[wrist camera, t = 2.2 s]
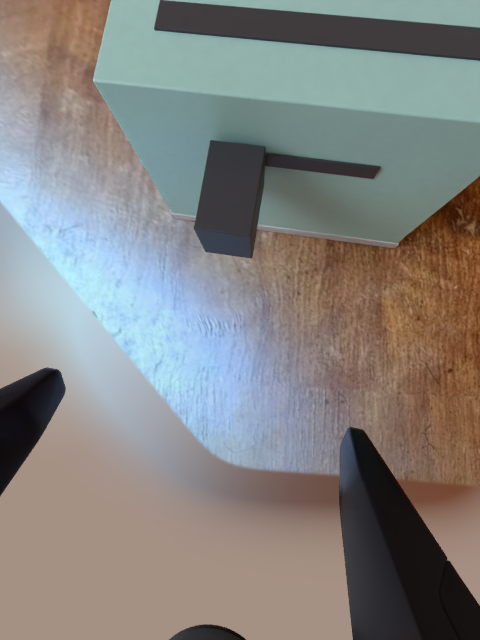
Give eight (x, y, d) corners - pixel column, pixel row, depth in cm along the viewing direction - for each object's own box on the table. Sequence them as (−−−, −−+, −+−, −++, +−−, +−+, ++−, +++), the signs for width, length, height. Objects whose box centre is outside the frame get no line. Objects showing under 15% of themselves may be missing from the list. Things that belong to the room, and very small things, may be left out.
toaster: (394, 248, 23) (546, 129, 11) (172, 218, 24) (86, 80, 12) (408, 129, 24) (562, -104, 12) (194, 105, 25) (135, -128, 13)
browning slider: (251, 258, 16) (250, 236, 13) (205, 252, 16) (193, 228, 13) (264, 183, 16) (265, 145, 14) (218, 177, 17) (209, 139, 14)
